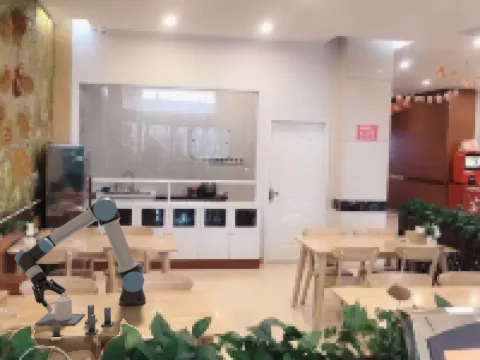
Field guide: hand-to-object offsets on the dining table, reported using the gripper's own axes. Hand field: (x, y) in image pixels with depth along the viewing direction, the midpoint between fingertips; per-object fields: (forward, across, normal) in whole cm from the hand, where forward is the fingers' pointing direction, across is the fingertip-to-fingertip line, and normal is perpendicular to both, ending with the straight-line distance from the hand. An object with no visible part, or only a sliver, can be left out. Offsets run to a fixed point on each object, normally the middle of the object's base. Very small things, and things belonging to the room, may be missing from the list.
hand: (60, 307), depth 263 cm
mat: (+5, 0, -5) cm, 7 cm away
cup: (+4, 0, -4) cm, 6 cm away
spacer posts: (+20, +8, +10) cm, 24 cm away
